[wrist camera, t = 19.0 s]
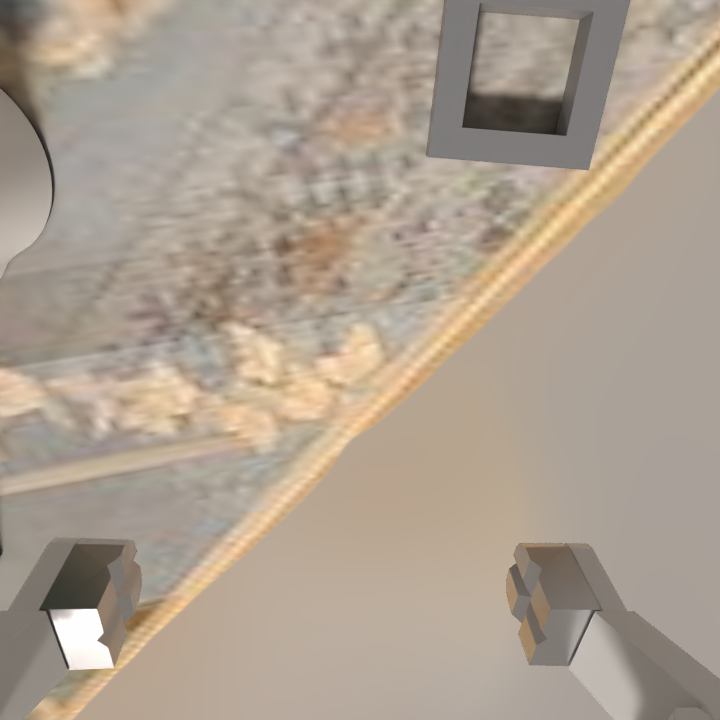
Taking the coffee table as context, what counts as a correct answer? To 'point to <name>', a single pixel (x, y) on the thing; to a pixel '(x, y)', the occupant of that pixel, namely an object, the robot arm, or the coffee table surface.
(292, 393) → the coffee table surface
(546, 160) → the holder
